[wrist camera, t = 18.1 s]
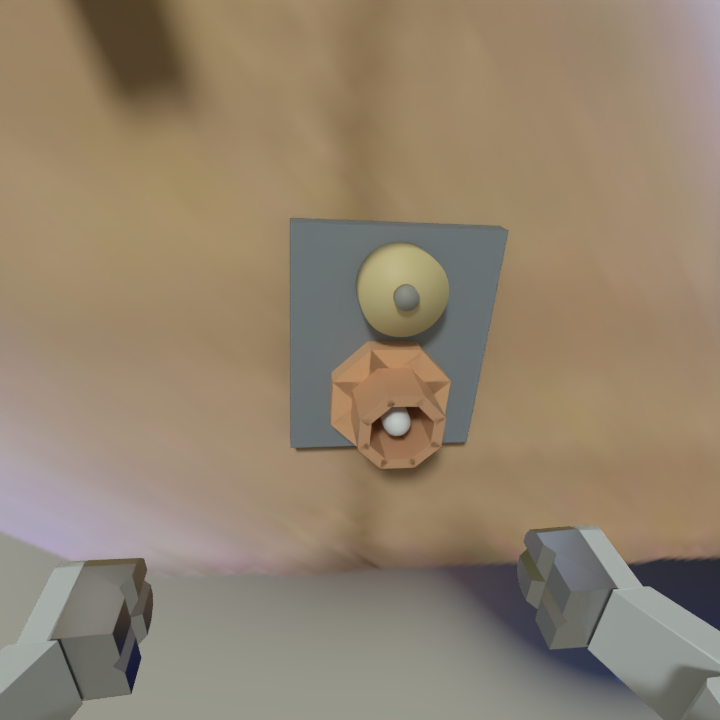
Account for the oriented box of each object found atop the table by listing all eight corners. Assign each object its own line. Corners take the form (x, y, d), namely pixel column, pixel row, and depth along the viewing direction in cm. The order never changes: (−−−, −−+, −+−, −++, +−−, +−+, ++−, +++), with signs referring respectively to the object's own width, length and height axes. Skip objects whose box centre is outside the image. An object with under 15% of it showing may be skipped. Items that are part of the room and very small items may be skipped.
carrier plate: (499, 225, 35) (542, 248, 29) (460, 431, 43) (488, 481, 37) (289, 217, 32) (291, 240, 27) (290, 436, 40) (291, 490, 35)
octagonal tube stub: (449, 341, 37) (475, 376, 32) (433, 438, 41) (454, 481, 36) (332, 340, 35) (340, 377, 31) (328, 441, 39) (334, 487, 35)
